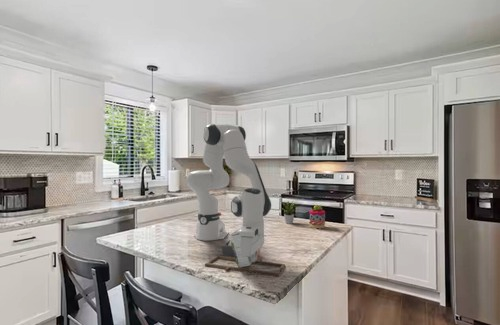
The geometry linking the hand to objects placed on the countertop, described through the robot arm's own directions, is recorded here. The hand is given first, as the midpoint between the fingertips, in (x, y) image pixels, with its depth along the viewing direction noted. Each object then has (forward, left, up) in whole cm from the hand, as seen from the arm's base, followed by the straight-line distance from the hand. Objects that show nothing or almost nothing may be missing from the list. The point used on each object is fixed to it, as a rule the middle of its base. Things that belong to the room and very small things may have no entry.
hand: (254, 261), depth 117 cm
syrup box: (0, -3, -2) cm, 4 cm away
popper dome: (-14, -15, -1) cm, 21 cm away
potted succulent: (-82, +16, -3) cm, 84 cm away
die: (-13, -5, -3) cm, 14 cm away
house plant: (-86, -4, -3) cm, 86 cm away
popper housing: (-14, -15, -3) cm, 21 cm away
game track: (0, -4, -3) cm, 5 cm away
